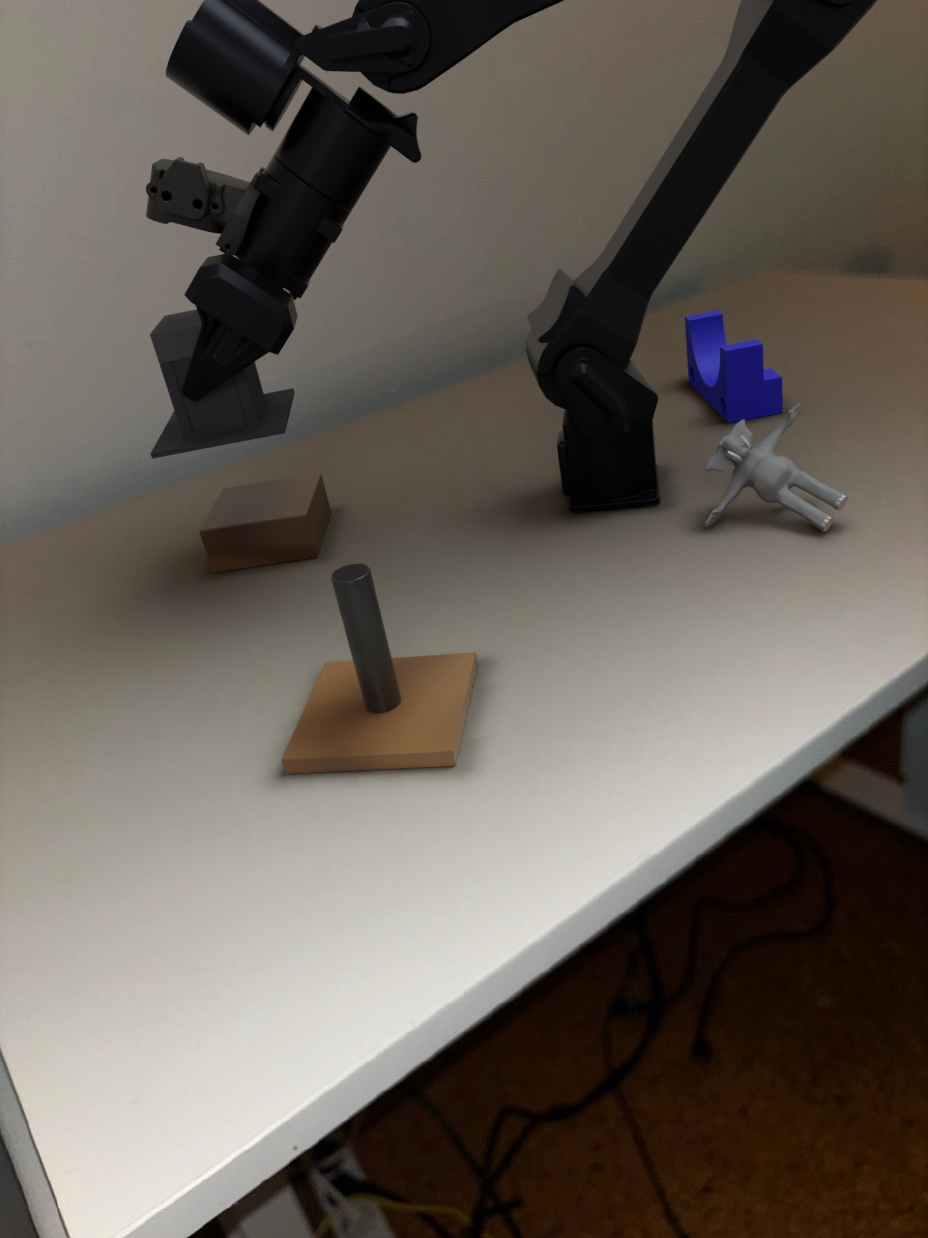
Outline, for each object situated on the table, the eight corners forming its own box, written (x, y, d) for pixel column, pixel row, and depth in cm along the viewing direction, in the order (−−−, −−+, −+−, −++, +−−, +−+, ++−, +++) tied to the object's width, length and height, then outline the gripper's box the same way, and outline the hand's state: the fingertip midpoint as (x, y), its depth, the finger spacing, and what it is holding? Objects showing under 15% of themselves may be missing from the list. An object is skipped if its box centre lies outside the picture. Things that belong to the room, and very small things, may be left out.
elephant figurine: (779, 567, 63) (666, 493, 67) (795, 591, 68) (688, 521, 72) (883, 434, 62) (761, 368, 66) (890, 469, 67) (777, 405, 72)
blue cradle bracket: (782, 412, 84) (781, 340, 81) (728, 422, 84) (725, 351, 81) (736, 372, 95) (734, 306, 92) (688, 381, 95) (684, 316, 92)
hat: (294, 393, 76) (268, 289, 72) (285, 433, 68) (254, 319, 64) (175, 416, 76) (142, 314, 72) (152, 458, 68) (113, 347, 64)
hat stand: (478, 666, 59) (451, 524, 54) (455, 766, 51) (422, 610, 47) (328, 676, 60) (290, 539, 56) (285, 774, 53) (237, 625, 48)
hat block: (331, 512, 82) (321, 472, 80) (317, 557, 75) (306, 514, 73) (235, 527, 83) (222, 487, 81) (212, 573, 76) (198, 530, 74)
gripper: (218, 93, 70) (115, 288, 76) (171, 107, 54) (43, 354, 59) (357, 193, 74) (249, 372, 79) (352, 235, 57) (216, 456, 63)
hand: (194, 385), depth 70 cm, fingers closed on hat, 5 cm apart
